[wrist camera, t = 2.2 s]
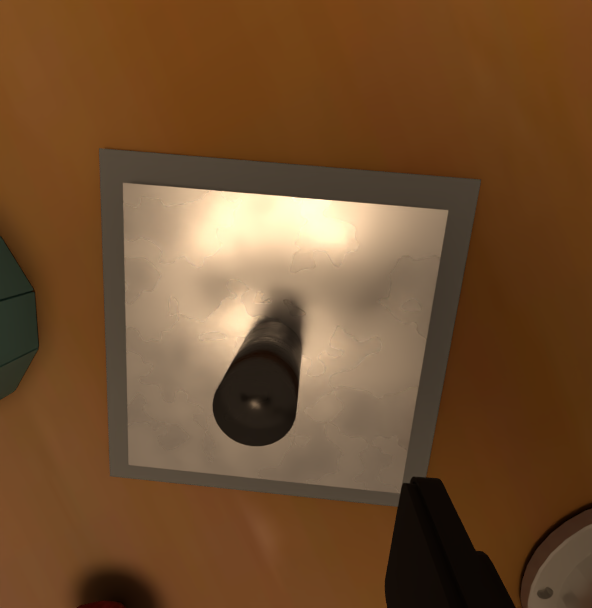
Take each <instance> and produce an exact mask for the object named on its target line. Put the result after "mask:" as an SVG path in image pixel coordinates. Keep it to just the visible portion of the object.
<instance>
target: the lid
mask: <svg viewBox="0 0 592 608" xmlns="http://www.w3.org/2000/svg"><path fill="white" fill-rule="evenodd" d="M447 216H448V210H440V209H428V208H416V207H404V206H393V205H381V204H369V203H357V202H345V201H333V200H321V199H310V198H298V197H286V196H274V195H262V194H250V193H238V192H226V191H215V190H203V189H191V188H179V187H167V186H155V185H143V184H132V183H123V217H124V266H125V315H126V365H127V414H128V463H129V465H134V466H143V467H153V468H162V469H172V470H181V471H191V472H200V473H210V474H219V475H229V476H238V477H248V478H257V479H267V480H276V481H286V482H295V483H305V484H314V485H324V486H333V487H343V488H352V489H362V490H371V491H380V492H390V493H399V494H400V492H401V487H402V481H403V476H404V470H405V464H406V458H407V452H408V446H409V440H410V434H411V428H412V422H413V417H414V411H415V405H416V399H417V393H418V387H419V381H420V375H421V369H422V363H423V358H424V352H425V346H426V340H427V334H428V328H429V322H430V316H431V310H432V304H433V299H434V293H435V287H436V281H437V275H438V269H439V263H440V257H441V251H442V245H443V240H444V234H445V228H446V222H447Z"/></svg>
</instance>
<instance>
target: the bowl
mask: <svg viewBox="0 0 592 608" xmlns="http://www.w3.org/2000/svg"><path fill="white" fill-rule="evenodd" d="M33 290H34V289H33V288H32V286H31V285H30V283H29V281H28V280H27V278H26V277H25V275H24V273H23V272H22V270H21V268H20V267H19V265H18V264H17V262H16V260H15V259H14V257H13V256H12V254H11V252H10V251H9V249H8V247H7V246H6V244H5V243H4V241H3V239H2V238H1V237H0V400H1V399H2V398H4V397H6V396H7V395H9V394H11V393H12V392H14V391H15V390H16V388H17V386H18V384H19V382H20V381H21V379H22V377H23V375H24V373H25V372H26V370H27V368H28V366H29V364H30V363H31V361H32V359H33V357H34V355H35V354H36V352H37V350H38V348H37V347H39V345H38V332H37V318H36V305H35V292H31V291H33Z"/></svg>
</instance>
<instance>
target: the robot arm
mask: <svg viewBox="0 0 592 608" xmlns="http://www.w3.org/2000/svg"><path fill="white" fill-rule="evenodd" d="M385 597H386V603H387V608H515V606H514V604H513V602H512V600H511V598H510V596H509V594H508V592H507V590H506V588H505V586H504V584H503V582H502V580H501V579H500V577H499V575H498V573H497V571H496V569H495V567H494V565H493V563H492V562H491V560H490V558H489V557H488V555H486V554H485V553H484V552H482V551H475V549H474V547H473V545H472V543H471V540H470V538H469V536H468V534H467V532H466V530H465V528H464V526H463V524H462V522H461V520H460V518H459V516H458V514H457V512H456V510H455V508H454V506H453V503H452V501H451V499H450V497H449V495H448V493H447V491H446V489H445V487H444V485H443V483H442V481H441V480H440V479H438V478H426V477H415V476H414V477H412V478H411V480H410V483H403V484H402V487H401V492H400V498H399V504H398V509H397V515H396V521H395V526H394V532H393V538H392V543H391V549H390V555H389V561H388V566H387V572H386V578H385ZM520 598H521V604H522V608H592V508H591V509H589V510H586V511H584V512H582V513H580V514H578V515H577V516H575V517H573V518H571V519H569V520H568V521H566V522H565V523H563V524H562V525H561V526H560V527H558V528H557V529H556V530H554V531H553V532H552V533H551V534H550V535H549V536H548V537H547V538H546V539H545V540H544V541H543V542H542V544H541V545H540V546H539V547H538V548H537V549H536V551H535V553H534V555H533V556H532V558H531V560H530V561H529V563H528V565H527V567H526V570H525V573H524V576H523V579H522V586H521V597H520Z"/></svg>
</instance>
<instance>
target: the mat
mask: <svg viewBox="0 0 592 608" xmlns="http://www.w3.org/2000/svg"><path fill="white" fill-rule="evenodd" d="M99 158H100V188H101V218H102V249H103V279H104V309H105V339H106V369H107V399H108V429H109V460H110V476H114V477H123V478H133V479H142V480H151V481H161V482H170V483H180V484H189V485H199V486H208V487H217V488H227V489H236V490H246V491H255V492H264V493H274V494H283V495H293V496H302V497H311V498H321V499H330V500H340V501H349V502H358V503H368V504H377V505H387V506H396V507H398V504H399V498H400V494H399V493H390V492H380V491H371V490H362V489H352V488H343V487H333V486H324V485H314V484H305V483H295V482H286V481H276V480H267V479H257V478H248V477H238V476H229V475H219V474H210V473H200V472H191V471H181V470H172V469H162V468H153V467H143V466H134V465H129V463H128V414H127V365H126V315H125V266H124V217H123V183H132V184H143V185H155V186H167V187H179V188H191V189H203V190H215V191H226V192H238V193H250V194H262V195H274V196H286V197H298V198H310V199H321V200H333V201H345V202H357V203H369V204H381V205H393V206H404V207H416V208H428V209H440V210H448V216H447V222H446V228H445V234H444V240H443V245H442V251H441V257H440V263H439V269H438V275H437V281H436V287H435V293H434V299H433V304H432V310H431V316H430V322H429V328H428V334H427V340H426V346H425V352H424V358H423V363H422V369H421V375H420V381H419V387H418V393H417V399H416V405H415V411H414V417H413V422H412V428H411V434H410V440H409V446H408V452H407V458H406V464H405V470H404V476H403V481H402V484H403V483H410V480H411V478H412V477H414V476H415V477H426V475H427V469H428V464H429V458H430V453H431V448H432V442H433V437H434V431H435V426H436V421H437V415H438V410H439V404H440V399H441V394H442V388H443V383H444V377H445V372H446V367H447V361H448V356H449V350H450V345H451V340H452V334H453V329H454V323H455V318H456V313H457V307H458V302H459V296H460V291H461V286H462V280H463V275H464V269H465V264H466V259H467V253H468V248H469V242H470V237H471V232H472V226H473V221H474V215H475V210H476V205H477V199H478V194H479V188H480V183H481V180H478V179H466V178H454V177H442V176H430V175H417V174H405V173H393V172H381V171H368V170H356V169H344V168H332V167H320V166H307V165H295V164H283V163H271V162H259V161H246V160H234V159H222V158H210V157H198V156H185V155H173V154H161V153H149V152H136V151H124V150H112V149H100V148H99Z"/></svg>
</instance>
